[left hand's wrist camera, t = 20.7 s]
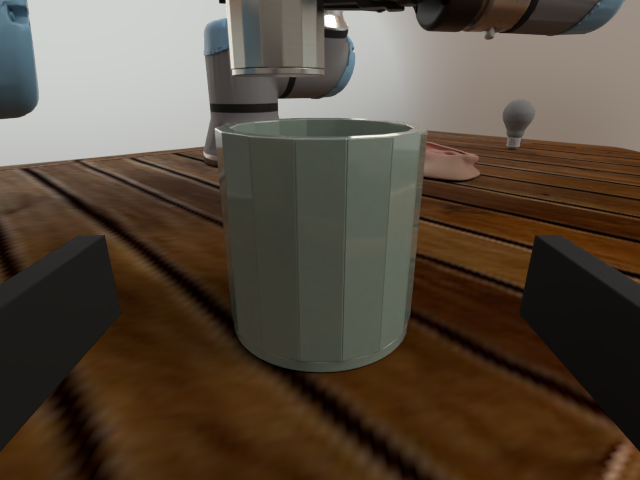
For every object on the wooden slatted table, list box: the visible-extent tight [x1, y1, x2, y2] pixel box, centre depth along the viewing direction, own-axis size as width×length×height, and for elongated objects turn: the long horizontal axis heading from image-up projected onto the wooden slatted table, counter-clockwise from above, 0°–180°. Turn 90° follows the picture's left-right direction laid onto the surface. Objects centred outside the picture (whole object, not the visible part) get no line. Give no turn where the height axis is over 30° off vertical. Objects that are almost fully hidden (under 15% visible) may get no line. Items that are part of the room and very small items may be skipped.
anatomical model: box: [423, 142, 480, 181], centre depth 63 cm, size 13×4×12 cm
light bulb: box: [503, 99, 535, 149], centre depth 84 cm, size 6×6×10 cm
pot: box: [215, 118, 428, 372], centre depth 22 cm, size 10×10×11 cm
